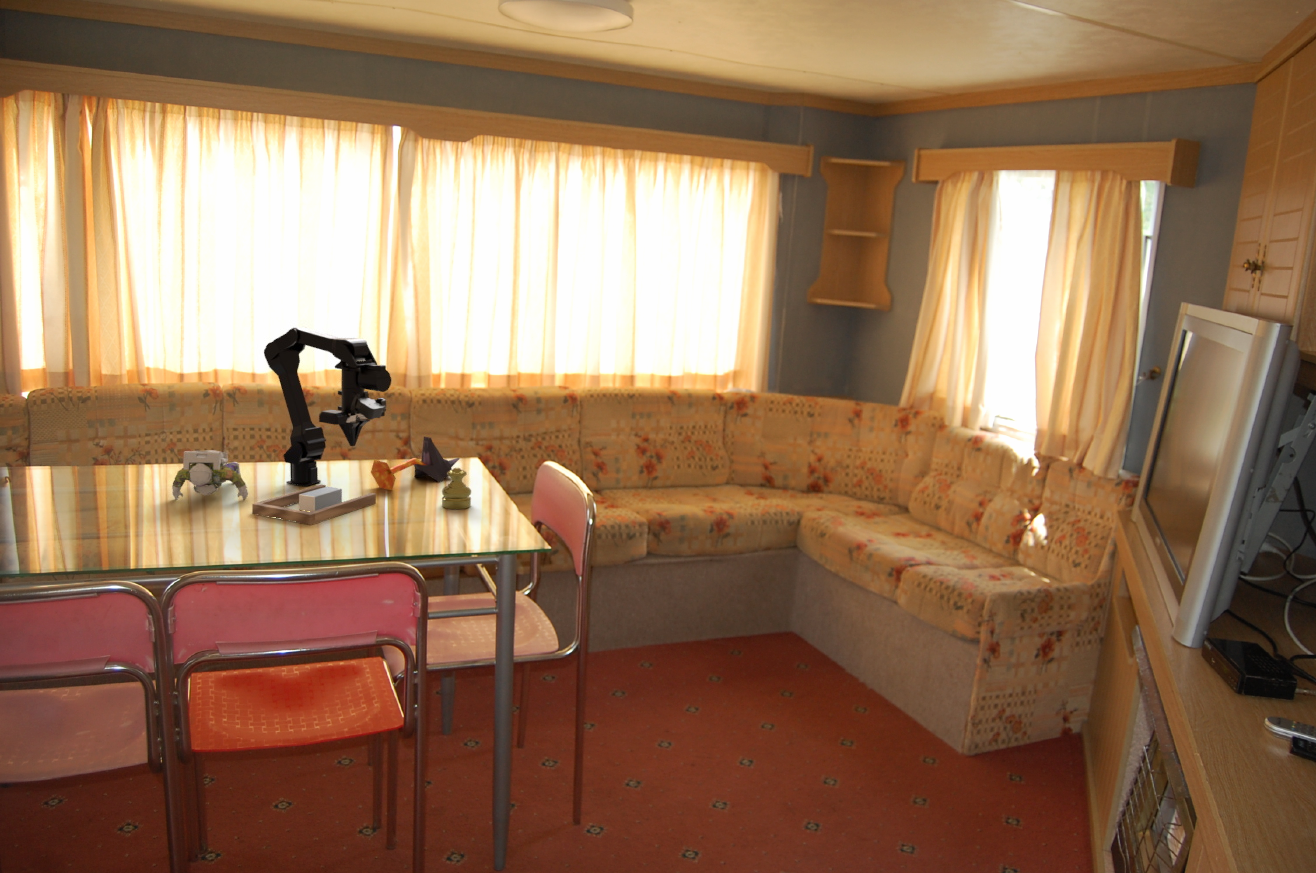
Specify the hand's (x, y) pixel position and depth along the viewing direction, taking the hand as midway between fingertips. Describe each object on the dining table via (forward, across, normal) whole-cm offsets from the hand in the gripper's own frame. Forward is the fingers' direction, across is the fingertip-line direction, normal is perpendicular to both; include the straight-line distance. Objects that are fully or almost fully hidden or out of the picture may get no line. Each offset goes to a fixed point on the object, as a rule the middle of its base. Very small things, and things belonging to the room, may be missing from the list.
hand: (352, 445), depth 242 cm
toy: (+14, -22, +25) cm, 36 cm away
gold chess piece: (+13, +5, -30) cm, 33 cm away
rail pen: (+13, -16, -3) cm, 21 cm away
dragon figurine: (+13, +20, -6) cm, 24 cm away
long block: (+11, -10, -3) cm, 15 cm away
